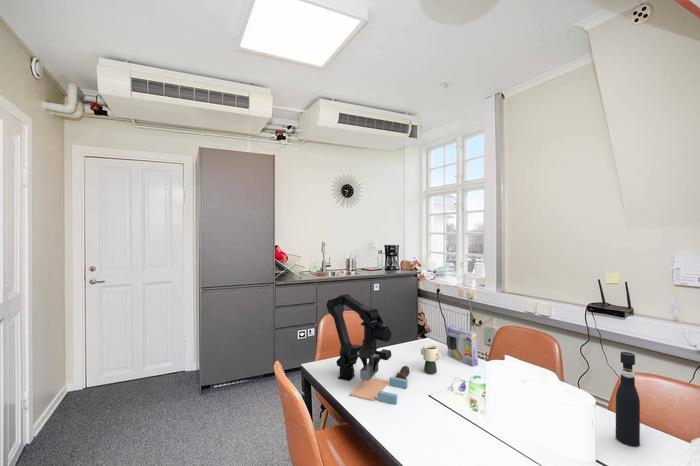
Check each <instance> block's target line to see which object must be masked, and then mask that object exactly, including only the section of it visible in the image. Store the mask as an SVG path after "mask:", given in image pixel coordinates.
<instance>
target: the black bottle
mask: <svg viewBox="0 0 700 466" xmlns="http://www.w3.org/2000/svg"><path fill="white" fill-rule="evenodd" d="M620 363H622V369H621V374H620V382H619V385H618V387H617V390H616V393H615V440H616V441H618V442H619V443H621V444H623V445H625V446H629V447H633V448H638V447H640V445H641V444H640V441H641V435H640V433H641V400H640V396H639V392H638V390H637V387H636V385H635V383H636V382H635V381H636V379H635V375H634V374H635V372H634V371H633V366H635V365H636V354H634V353H632V352H629V351H628V352H627V351H621V352H620Z"/></svg>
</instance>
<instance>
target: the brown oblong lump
mask: <svg viewBox="0 0 700 466" xmlns="http://www.w3.org/2000/svg"><path fill="white" fill-rule="evenodd" d="M410 373H411V371H410V367H409V366H407V365H403V366H402V367H401V368H400V370H399V372H397V374H396V375H395V377H396V378H401V379H406V380H408V378H407V377H408V376H409V374H410Z"/></svg>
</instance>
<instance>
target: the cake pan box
mask: <svg viewBox="0 0 700 466" xmlns="http://www.w3.org/2000/svg"><path fill="white" fill-rule="evenodd" d="M477 334H478V333H477V332H475V331H472V330H469V329H466V328H464V327H463V328H462V327H458V326H456V325H453V324H452V325H449V326H446V339H445V340H446V346H447V357H449V358H452V359H454V360H456V361H459V362H462V363H464V364H466V365H469V366H471V367H475V366H478V365H479V359H478V358H479V357H478V335H477Z"/></svg>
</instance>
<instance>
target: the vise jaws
mask: <svg viewBox="0 0 700 466" xmlns="http://www.w3.org/2000/svg"><path fill="white" fill-rule="evenodd" d="M408 382H409V381H408V379H407V380H406V379H401V378H396V376H390V377H389V386H390V387H394V388H399V389H405V390H407V389H408ZM377 401H378V402H382V403H386V404H390V405H394V406H396V405H397V404H398V394H396V393H392V392H388V391H383V390H382V391H379V392H378V396H377Z"/></svg>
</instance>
